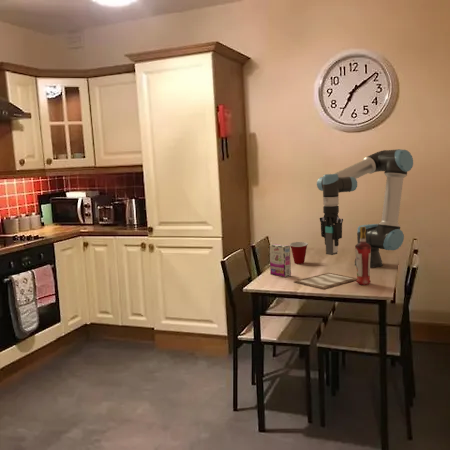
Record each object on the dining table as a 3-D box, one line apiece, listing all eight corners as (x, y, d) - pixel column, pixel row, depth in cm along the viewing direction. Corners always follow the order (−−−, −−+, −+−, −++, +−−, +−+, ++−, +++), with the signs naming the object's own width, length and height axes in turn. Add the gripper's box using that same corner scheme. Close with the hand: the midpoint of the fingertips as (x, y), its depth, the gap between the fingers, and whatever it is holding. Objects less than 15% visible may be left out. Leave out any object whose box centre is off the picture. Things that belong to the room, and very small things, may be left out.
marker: (331, 252, 260) (330, 225, 258) (337, 253, 257) (337, 226, 255) (325, 254, 258) (325, 226, 256) (332, 255, 254) (331, 227, 253)
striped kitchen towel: (328, 273, 274) (328, 272, 274) (358, 279, 258) (358, 278, 258) (293, 282, 259) (293, 281, 259) (323, 289, 243) (323, 288, 243)
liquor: (353, 282, 253) (352, 226, 249) (368, 281, 253) (367, 225, 250) (358, 286, 246) (357, 228, 242) (373, 285, 246) (372, 227, 242)
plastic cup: (288, 265, 301) (288, 244, 299) (291, 261, 311) (290, 241, 309) (307, 265, 298) (306, 244, 296) (309, 261, 308) (309, 241, 306)
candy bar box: (291, 275, 274) (290, 245, 272) (285, 277, 271) (284, 246, 269) (276, 272, 282) (275, 243, 280) (270, 274, 279) (268, 244, 277)
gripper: (312, 205, 259) (313, 250, 262) (339, 206, 245) (340, 254, 248) (323, 203, 263) (324, 248, 266) (349, 205, 250) (350, 252, 253)
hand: (331, 251), depth 257 cm, fingers closed on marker, 4 cm apart
